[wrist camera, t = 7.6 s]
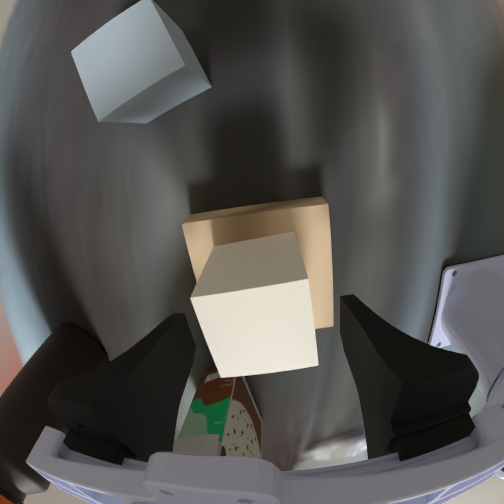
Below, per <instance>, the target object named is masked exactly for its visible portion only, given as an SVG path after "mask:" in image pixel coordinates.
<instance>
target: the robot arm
mask: <svg viewBox="0 0 504 504" xmlns="http://www.w3.org/2000/svg"><path fill="white" fill-rule="evenodd" d="M453 272H454V273H453ZM452 273H453V274H452ZM340 334H341V339H342V343H343V348H344V352H345V355H346V357H347V360H348V363H349V366H350V369H351V372H352V375H353V378H354V381H355V384H356V387H357V390H358V394H359V399H360V404H361V409H362V415H363V421H364V428H365V435H366V443H367V452H368V460H364V461H360V462H354V463H349V464H343V465H338V466H331V467H324V468H316V469H307V470H296V471H281V472H280V470H279V469H278V468H277V467H276V466H275V465H274V464H273V463H271V462H269V461H265V460H262V459H259V458H250V457H231V456H208V455H195V454H184V453H175V452H173V443H174V435H175V427H176V421H177V415H178V410H179V405H180V401H181V398H182V395H183V392H184V389H185V386H186V383H187V380H188V377H189V374H190V370H191V367H192V364H193V359H194V353H195V347H196V345H195V342H194V340H193V337H192V334H191V331H190V328H189V326H188V323H187V320H186V317H185V314H184V313H175V314H171V315H170V316H169V317H167V318H166V319H165V320H164V321H163V322H162V323H160V324H159V325H158V326H157V327H156V328H155V329H153V330H152V331H151V332H150V333H149V334H148V335H147V336H145V337H144V338H143V339H142V340H140V341H139V342H138V343H137V344H135V345H134V346H133V347H131V348H130V349H129V350H127V351H126V352H124V353H123V354H121V355H120V356H118V357H117V358H115V359H114V360H112V361H110V362H108V363H106V364H104V365H102V366H101V367H99V368H97V369H94V370H92V371H90V372H88V373H85V374H82V375H80V376H77V377H74V378H70V379H67V380H64V381H60V382H59V383H58V384H57V386H56V387H55V389H54V390H53V392H52V393H51V395H50V396H49V398H48V405H49V407H50V409H51V410H52V412H53V413H54V414H55V415H56V416H57V418H58V419H59V420H60V421H61V422H62V423H63V424H64V425H65V427H66V428H67V429H68V430H69V431H68V433H67V435H66V434H64V433H63V432H61V431H59V430H56V429H54V428H51V427H48V426H45V428H44V430H43V431H42V433H41V435H40V437H39V438H38V440H37V442H36V444H35V445H34V447H33V449H32V451H31V453H30V454H29V456H28V458H27V460H26V463H27V464H28V465H29V466H31V467H32V468H33V469H34V470H35V471H37V472H38V473H39V474H40V475H42V476H43V477H44V478H46V479H47V480H48V481H50V482H51V483H52V484H54V485H55V486H57V487H58V488H60V489H62V490H63V491H66V492H68V493H70V494H72V495H74V496H76V497H78V498H80V499H82V500H84V501H86V502H88V503H91V504H442V503H444V502H446V501H448V500H450V499H452V498H454V497H456V496H458V495H460V494H462V493H464V492H466V491H468V490H470V489H472V488H474V487H475V486H477V485H479V484H481V483H483V482H485V481H486V480H488V479H490V478H491V477H493V476H494V475H496V476H498V477H499V478H501V479H503V480H504V255H500V256H496V257H491V258H487V259H482V260H478V261H473V262H468V263H463V264H459V265H454V266H449V267H446V268H445V269H444V271H443V274H442V280H441V287H440V293H439V298H438V304H437V309H436V314H435V318H434V323H433V327H432V331H431V335H430V339H429V343H428V344H426V343H424V342H422V341H419V340H417V339H415V338H413V337H411V336H409V335H407V334H405V333H404V332H402V331H400V330H398V329H397V328H395V327H393V326H392V325H391V324H389V323H388V322H386V321H385V320H383V319H382V318H381V317H379V316H378V315H377V314H376V313H374V312H373V311H372V310H371V309H370V308H368V307H367V306H366V305H365V304H364V303H363V302H362V301H360V300H359V299H358V298H357V297H356V296H355V295H353V294H352V295H345V296H340ZM451 344H452V346H453V347H454V349H455V350H456V352H457V353H456V352H452V351H447V350H444V349H441V347H444V346H447V345H451ZM476 386H478V387H479V389H480V391H481V392H482V394H483V396H484V398H485V399H486V401H487V403H486V405H485V406H484V408H483V409H482V410H481V412H480V413H478V414H476V415H475V416H474V417H473V418H472V419H471V417H470V415H469V412H470V411H471V407H470V405H469V403H468V401H469V399H470V397H471V395H472V393H473V392H474V390H475V388H476Z"/></svg>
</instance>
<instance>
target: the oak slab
mask: <svg viewBox="0 0 504 504" xmlns="http://www.w3.org/2000/svg"><path fill="white" fill-rule="evenodd" d="M182 227H183V231H184V235H185V239H186V244H187V248H188V252H189V255H190V259H191V263H192V267H193V271H194V275H195V278H196V282H198V279H199V277H200V275H201V273H202V270H203V268H204V266H205V264H206V262H207V259H208V257H209V255H210V253H211V251H212V249H213V246H218V245H224V244H229V243H234V242H240V241H245V240H251V239H256V238H261V237H267V236H273V235H278V234H284V233H290V232H295V236H296V239H297V242H298V245H299V249H300V252H301V255H302V259H303V262H304V265H305V269H306V272H307V275H308V279H309V286H310V294H311V302H312V310H313V319H314V328H315V329H317V328H324V327H331V326H333V275H332V251H331V234H330V219H329V206H328V203H327V202H326V201H325V200H324V198H323V197H313V198H304V199H296V200H288V201H280V202H272V203H264V204H257V205H250V206H243V207H236V208H229V209H222V210H216V211H209V212H203V213H197V214H191V215H190V216H189V217H188V218H187V219H186V220H185V221H184V222H183V223H182Z"/></svg>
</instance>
